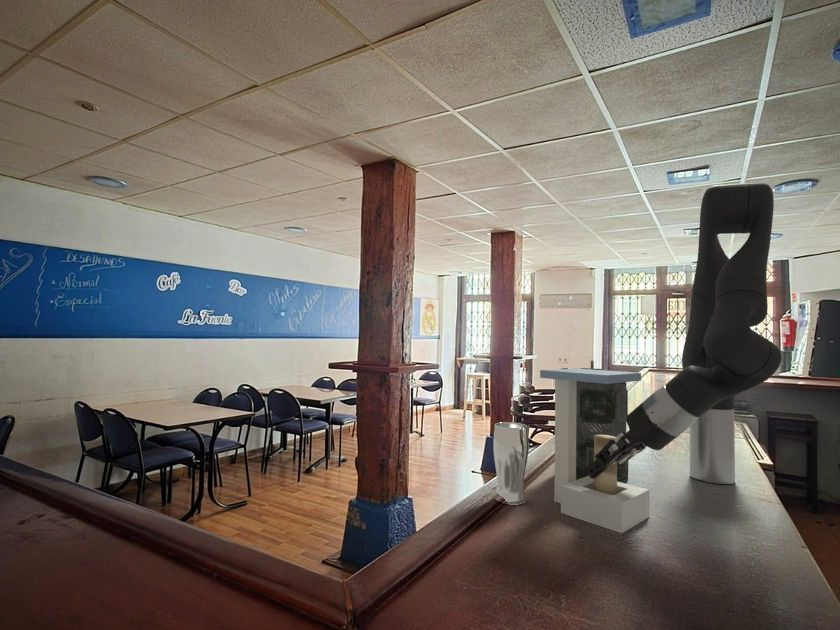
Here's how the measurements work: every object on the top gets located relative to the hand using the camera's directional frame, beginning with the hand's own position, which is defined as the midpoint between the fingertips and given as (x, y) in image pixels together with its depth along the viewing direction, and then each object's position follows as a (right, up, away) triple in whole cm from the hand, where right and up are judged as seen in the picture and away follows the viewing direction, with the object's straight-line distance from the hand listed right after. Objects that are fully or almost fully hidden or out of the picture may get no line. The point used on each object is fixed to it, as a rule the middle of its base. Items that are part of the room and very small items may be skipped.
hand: (595, 471), depth 86 cm
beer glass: (-15, -8, +5) cm, 18 cm away
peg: (+1, -5, -2) cm, 5 cm away
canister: (+7, -9, +20) cm, 23 cm away
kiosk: (0, -7, 0) cm, 8 cm away
